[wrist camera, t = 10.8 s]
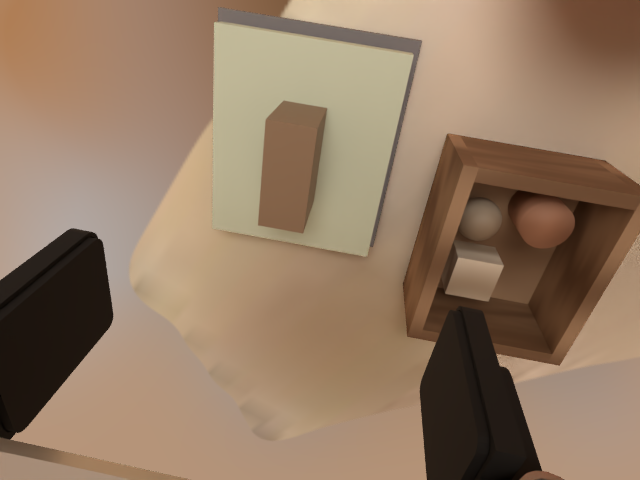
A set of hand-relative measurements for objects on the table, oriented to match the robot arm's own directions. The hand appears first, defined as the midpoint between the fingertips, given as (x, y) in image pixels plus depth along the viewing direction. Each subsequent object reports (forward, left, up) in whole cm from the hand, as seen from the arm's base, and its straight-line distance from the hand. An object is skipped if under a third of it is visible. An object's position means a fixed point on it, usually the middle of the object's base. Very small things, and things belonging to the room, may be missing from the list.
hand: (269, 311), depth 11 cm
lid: (+1, -2, -18) cm, 18 cm away
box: (+5, +12, -19) cm, 23 cm away
